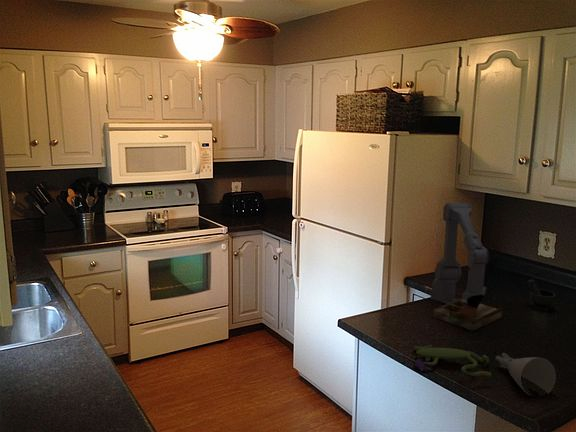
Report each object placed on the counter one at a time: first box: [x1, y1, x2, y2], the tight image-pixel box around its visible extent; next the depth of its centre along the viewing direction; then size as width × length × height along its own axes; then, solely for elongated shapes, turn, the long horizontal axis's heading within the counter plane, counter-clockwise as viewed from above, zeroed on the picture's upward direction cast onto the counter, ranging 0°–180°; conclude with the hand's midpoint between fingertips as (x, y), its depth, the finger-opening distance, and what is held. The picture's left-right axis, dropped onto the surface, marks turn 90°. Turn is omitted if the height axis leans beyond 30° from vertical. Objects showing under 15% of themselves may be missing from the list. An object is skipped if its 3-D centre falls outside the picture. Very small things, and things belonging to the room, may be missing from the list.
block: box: [459, 305, 477, 319], centre depth 199 cm, size 4×4×4 cm
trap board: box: [431, 297, 504, 332], centre depth 208 cm, size 18×22×5 cm
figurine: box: [413, 344, 492, 378], centre depth 168 cm, size 18×27×6 cm
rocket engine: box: [495, 352, 557, 396], centre depth 160 cm, size 12×12×18 cm
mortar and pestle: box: [527, 278, 557, 312], centre depth 219 cm, size 11×9×12 cm
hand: (472, 312), depth 202 cm, fingers closed
